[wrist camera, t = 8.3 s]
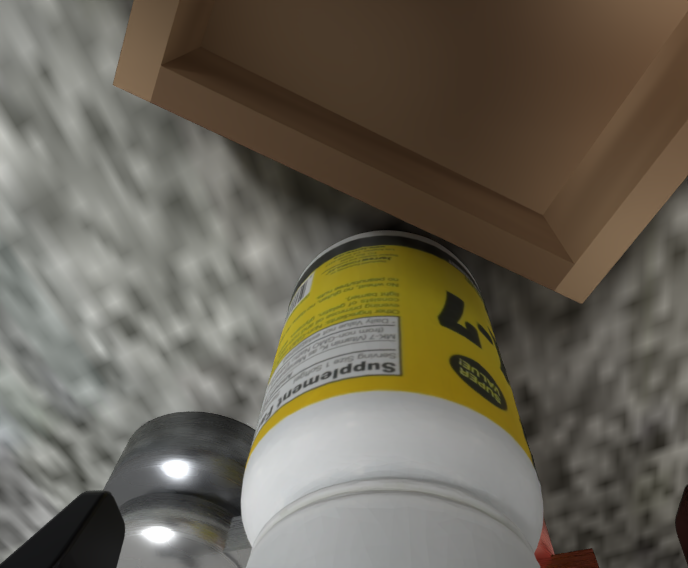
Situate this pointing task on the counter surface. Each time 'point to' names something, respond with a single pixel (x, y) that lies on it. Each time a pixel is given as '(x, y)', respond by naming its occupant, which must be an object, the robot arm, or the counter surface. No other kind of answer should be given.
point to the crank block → (185, 459)
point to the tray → (445, 111)
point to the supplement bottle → (389, 422)
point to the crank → (231, 536)
